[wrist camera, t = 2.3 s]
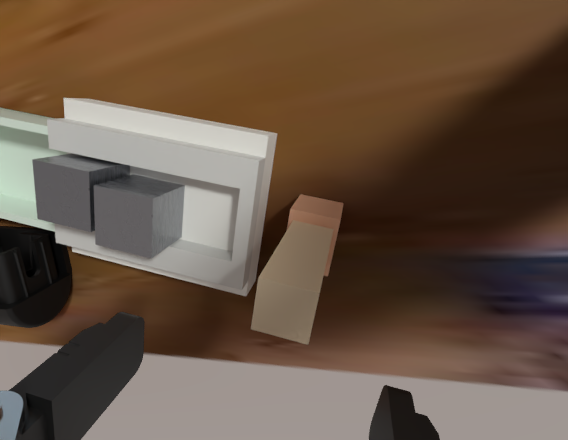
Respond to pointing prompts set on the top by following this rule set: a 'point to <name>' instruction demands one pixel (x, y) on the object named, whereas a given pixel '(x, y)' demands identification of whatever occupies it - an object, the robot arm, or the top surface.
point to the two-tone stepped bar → (297, 270)
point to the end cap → (32, 276)
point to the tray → (22, 165)
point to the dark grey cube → (71, 187)
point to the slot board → (182, 170)
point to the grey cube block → (138, 214)
